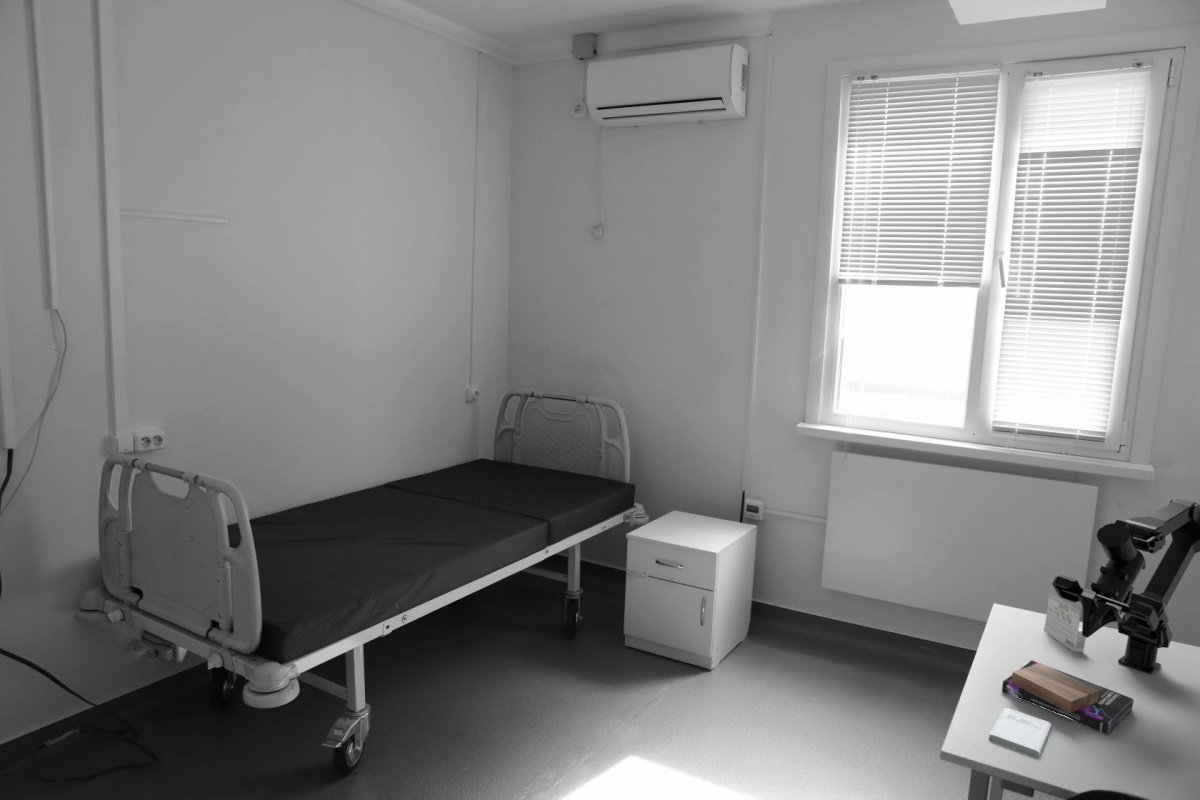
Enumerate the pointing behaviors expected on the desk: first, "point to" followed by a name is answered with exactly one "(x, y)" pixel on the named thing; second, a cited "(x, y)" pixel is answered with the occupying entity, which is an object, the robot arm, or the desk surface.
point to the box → (1094, 716)
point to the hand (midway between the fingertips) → (1084, 636)
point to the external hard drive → (1021, 731)
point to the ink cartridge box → (1064, 624)
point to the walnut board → (1055, 687)
